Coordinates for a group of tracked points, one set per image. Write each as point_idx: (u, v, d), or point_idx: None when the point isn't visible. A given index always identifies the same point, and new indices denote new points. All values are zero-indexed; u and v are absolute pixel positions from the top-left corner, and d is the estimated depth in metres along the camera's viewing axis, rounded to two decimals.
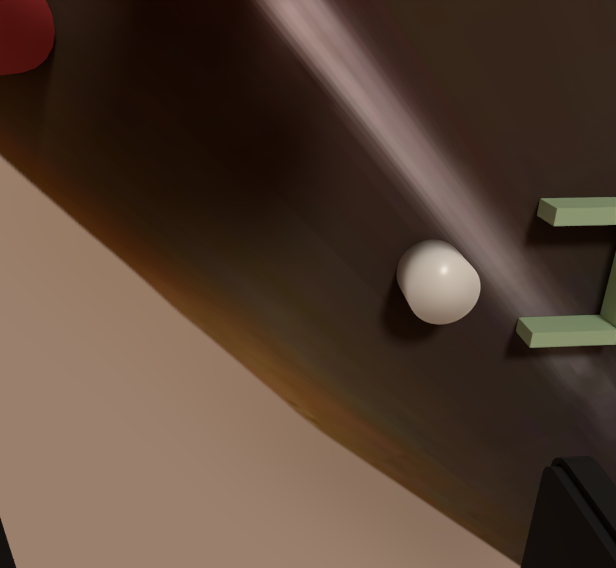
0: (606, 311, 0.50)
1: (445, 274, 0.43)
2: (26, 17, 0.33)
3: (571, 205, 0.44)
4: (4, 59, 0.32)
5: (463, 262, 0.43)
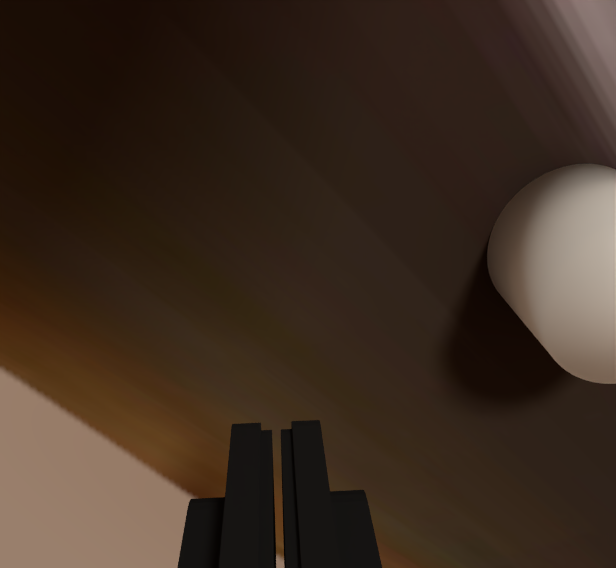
0: None
1: None
2: None
3: None
4: None
5: None
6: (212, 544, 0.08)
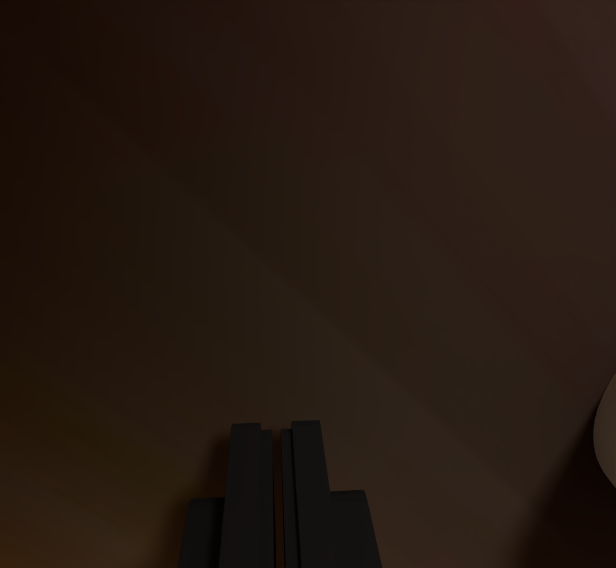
0: None
1: None
2: None
3: None
4: None
5: None
6: (212, 544, 0.08)
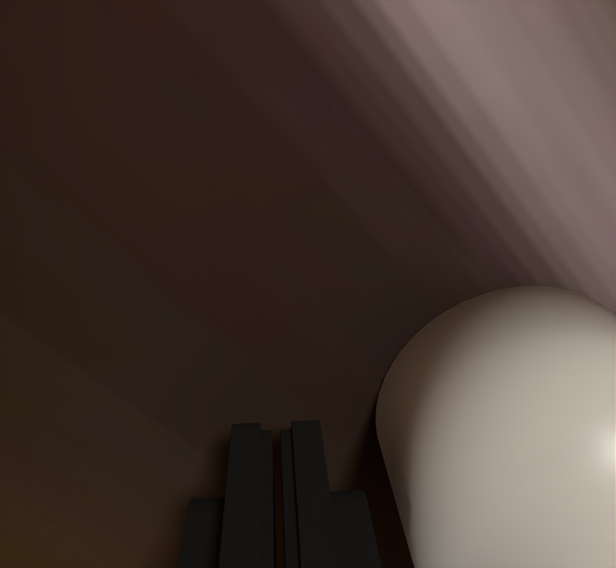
0: None
1: None
2: None
3: None
4: None
5: None
6: (212, 544, 0.08)
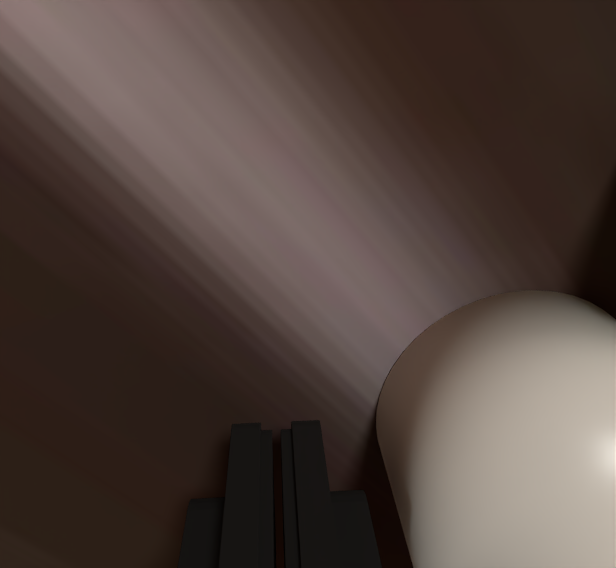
0: None
1: None
2: None
3: None
4: None
5: None
6: (213, 544, 0.08)
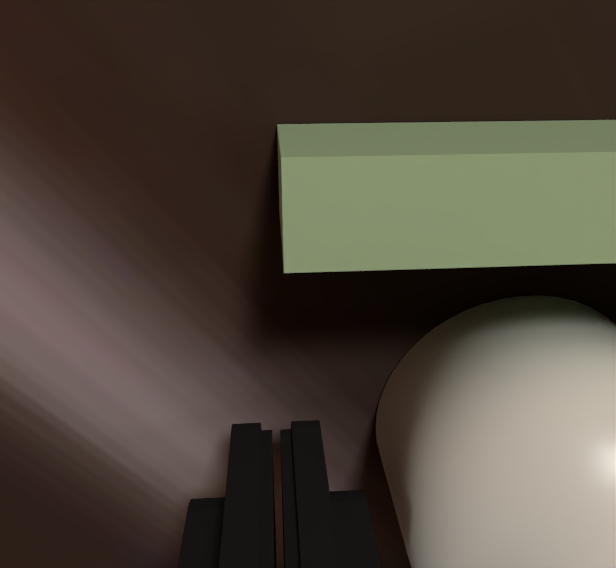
0: None
1: None
2: None
3: (402, 143, 0.07)
4: None
5: None
6: (213, 544, 0.08)
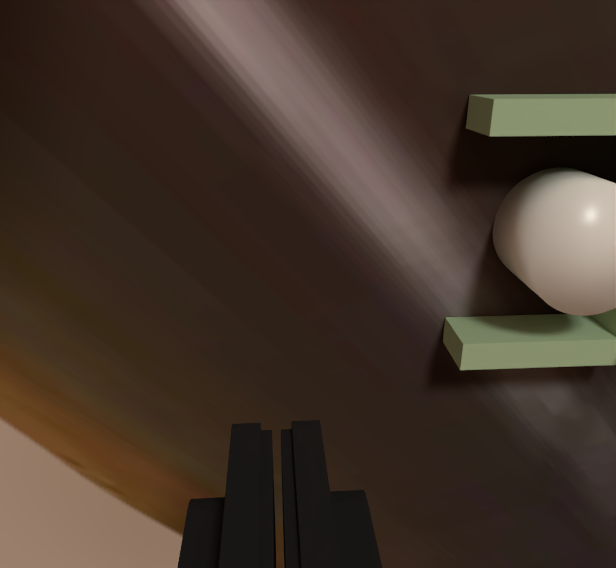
0: None
1: (606, 220, 0.23)
2: None
3: (524, 97, 0.23)
4: None
5: None
6: (213, 544, 0.08)
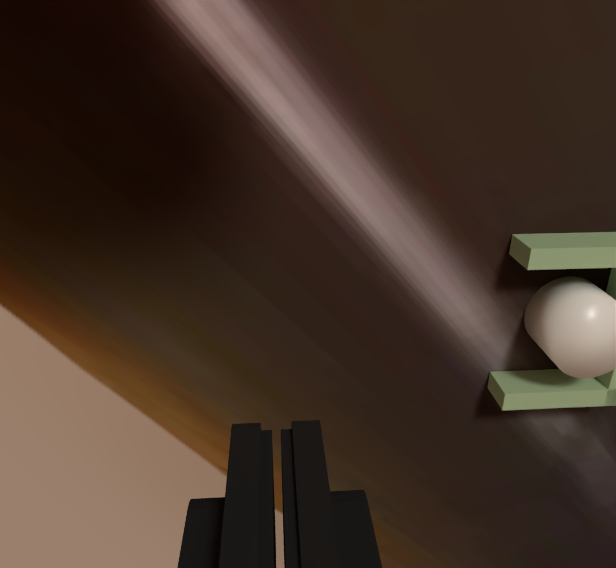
0: None
1: (600, 321, 0.36)
2: None
3: (549, 244, 0.36)
4: None
5: None
6: (213, 544, 0.08)
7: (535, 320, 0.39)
